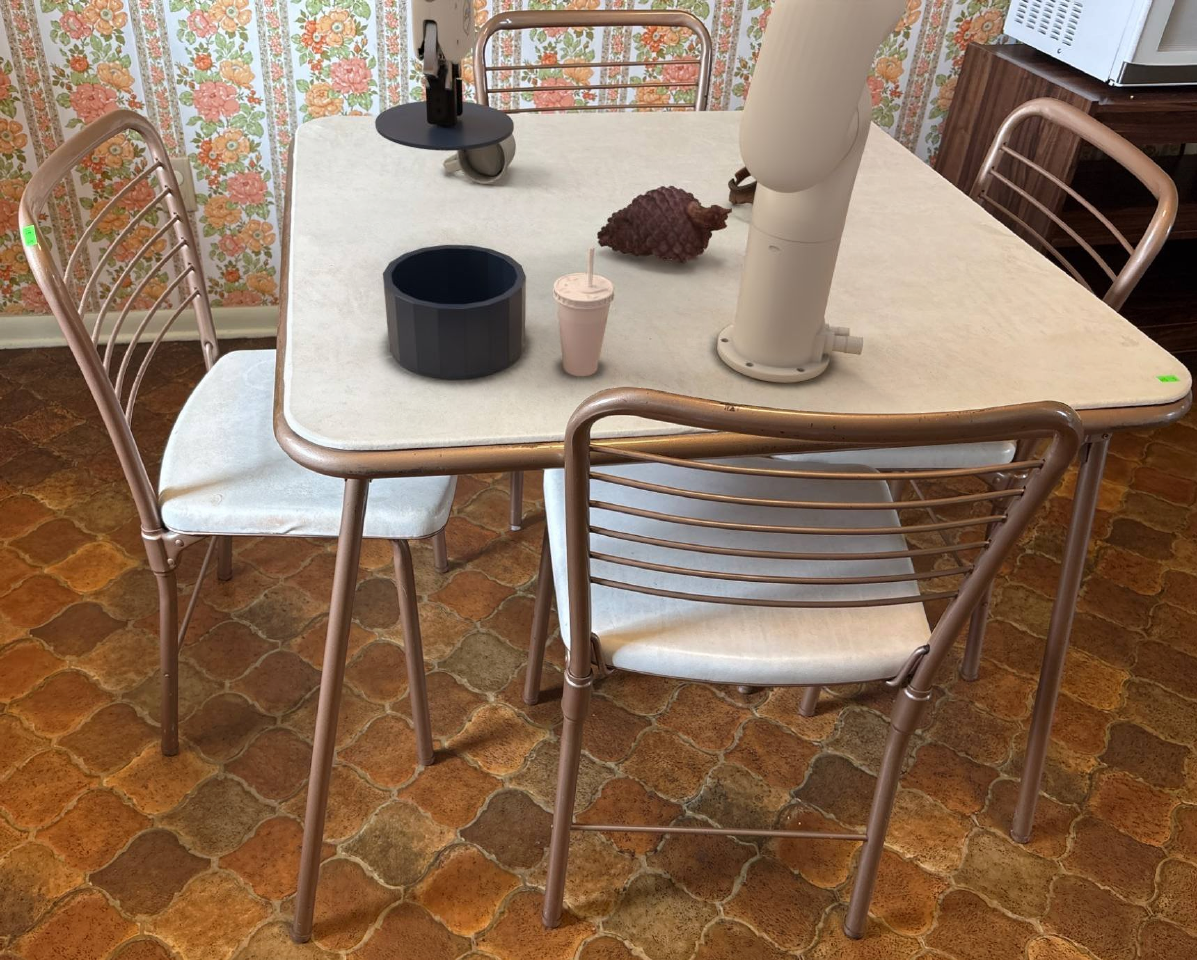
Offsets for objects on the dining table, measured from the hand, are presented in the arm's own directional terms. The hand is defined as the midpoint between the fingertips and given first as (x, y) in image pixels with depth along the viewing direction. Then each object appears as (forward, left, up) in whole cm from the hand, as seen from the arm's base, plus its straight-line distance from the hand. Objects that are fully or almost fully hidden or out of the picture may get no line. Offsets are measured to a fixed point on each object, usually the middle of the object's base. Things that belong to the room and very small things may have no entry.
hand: (445, 117), depth 114 cm
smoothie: (-19, +21, -19) cm, 34 cm away
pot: (-5, +19, -18) cm, 27 cm away
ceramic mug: (+3, -31, -19) cm, 36 cm away
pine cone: (-26, -9, -19) cm, 33 cm away
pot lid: (0, 0, -1) cm, 1 cm away
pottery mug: (-40, -28, -19) cm, 52 cm away
